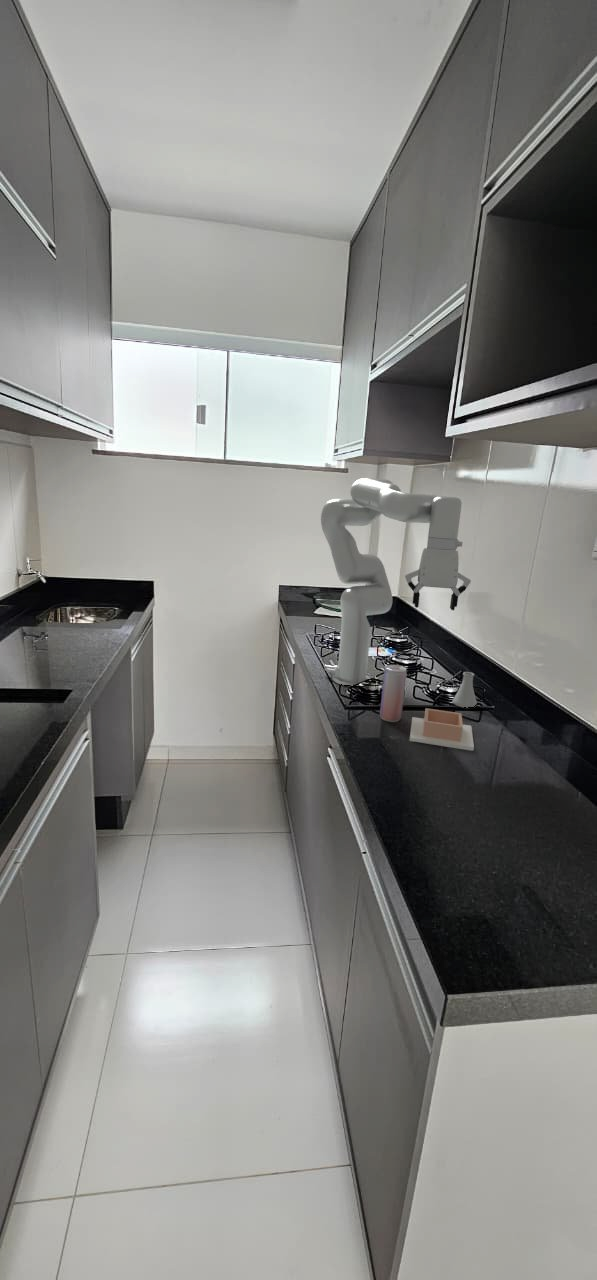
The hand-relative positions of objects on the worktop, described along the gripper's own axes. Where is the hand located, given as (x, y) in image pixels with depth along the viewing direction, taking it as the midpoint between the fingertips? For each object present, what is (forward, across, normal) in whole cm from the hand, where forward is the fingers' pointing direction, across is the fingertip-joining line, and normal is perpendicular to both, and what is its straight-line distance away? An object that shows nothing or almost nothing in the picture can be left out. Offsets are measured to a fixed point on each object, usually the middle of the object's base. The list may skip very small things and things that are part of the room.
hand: (434, 608), depth 158 cm
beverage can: (+32, +9, +4) cm, 33 cm away
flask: (+32, -14, -13) cm, 38 cm away
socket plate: (+32, -4, +12) cm, 34 cm away
